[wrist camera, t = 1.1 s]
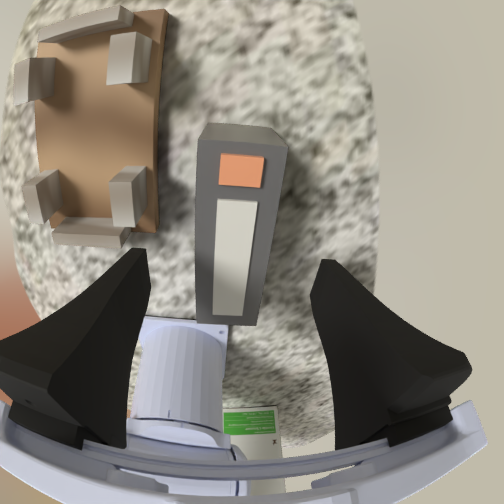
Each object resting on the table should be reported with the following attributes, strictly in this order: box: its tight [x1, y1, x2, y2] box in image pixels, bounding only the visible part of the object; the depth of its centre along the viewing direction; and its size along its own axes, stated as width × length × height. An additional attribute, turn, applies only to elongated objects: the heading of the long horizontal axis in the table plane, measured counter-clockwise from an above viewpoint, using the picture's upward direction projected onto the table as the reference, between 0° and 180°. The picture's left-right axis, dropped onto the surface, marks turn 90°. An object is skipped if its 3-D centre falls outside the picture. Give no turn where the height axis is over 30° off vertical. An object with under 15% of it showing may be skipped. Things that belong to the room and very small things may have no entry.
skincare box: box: [223, 406, 286, 496], centre depth 28 cm, size 8×7×16 cm
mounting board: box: [13, 5, 169, 249], centre depth 11 cm, size 13×8×4 cm, turn 173°
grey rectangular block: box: [195, 123, 288, 326], centre depth 14 cm, size 10×3×5 cm, turn 173°
